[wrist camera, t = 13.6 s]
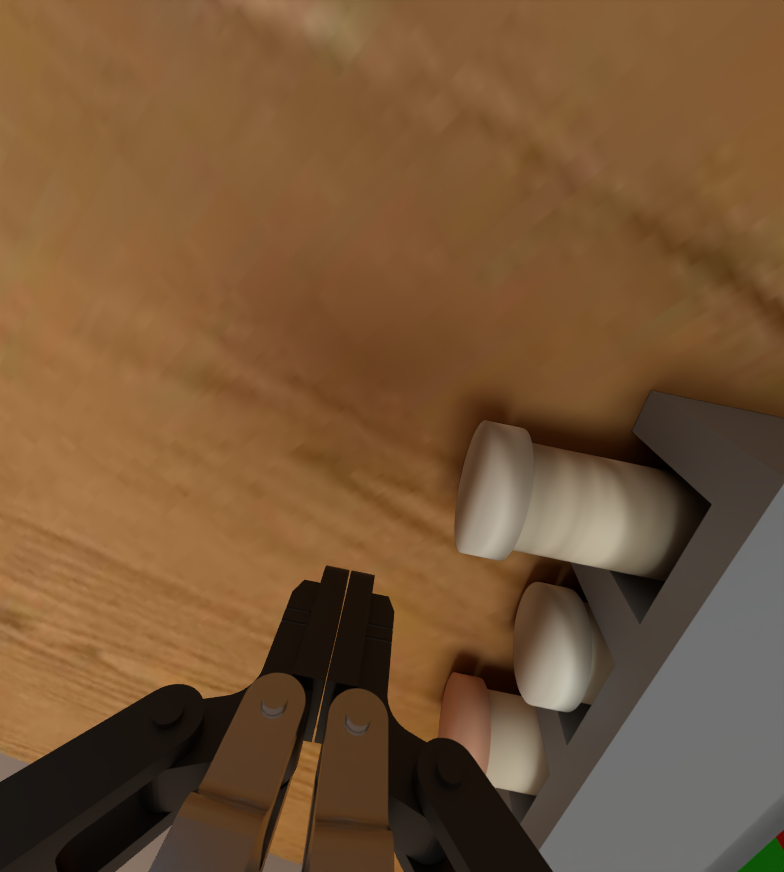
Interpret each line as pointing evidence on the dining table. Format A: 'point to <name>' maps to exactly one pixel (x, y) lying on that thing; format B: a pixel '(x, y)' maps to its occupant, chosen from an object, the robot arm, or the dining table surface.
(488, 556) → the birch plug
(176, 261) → the dining table surface
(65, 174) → the dining table surface
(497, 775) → the terracotta plug
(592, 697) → the middle birch plug
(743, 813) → the socket block
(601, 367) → the dining table surface
